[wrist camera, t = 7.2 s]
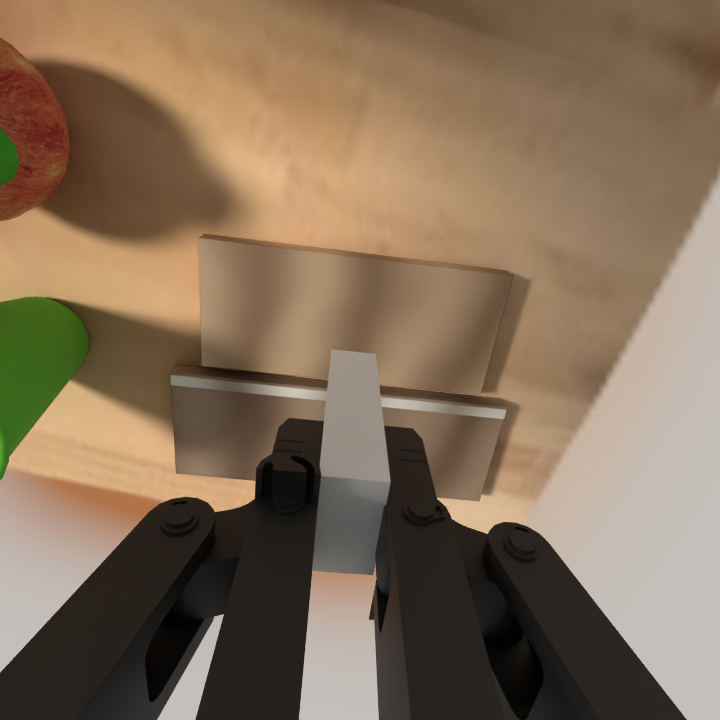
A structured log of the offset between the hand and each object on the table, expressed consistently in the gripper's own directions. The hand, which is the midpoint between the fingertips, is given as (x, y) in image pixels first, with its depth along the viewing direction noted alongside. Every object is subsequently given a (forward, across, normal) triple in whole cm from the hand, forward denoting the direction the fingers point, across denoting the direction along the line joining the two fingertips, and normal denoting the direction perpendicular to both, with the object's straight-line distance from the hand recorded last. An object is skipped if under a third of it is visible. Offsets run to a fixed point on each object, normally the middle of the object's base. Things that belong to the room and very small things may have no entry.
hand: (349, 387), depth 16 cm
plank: (+13, 0, -2) cm, 14 cm away
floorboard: (+14, 0, -11) cm, 17 cm away
